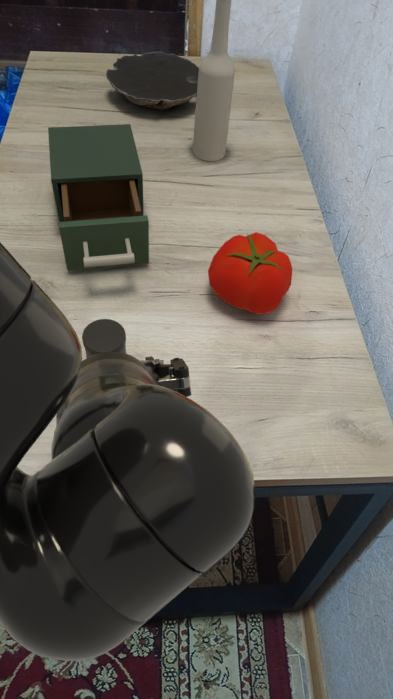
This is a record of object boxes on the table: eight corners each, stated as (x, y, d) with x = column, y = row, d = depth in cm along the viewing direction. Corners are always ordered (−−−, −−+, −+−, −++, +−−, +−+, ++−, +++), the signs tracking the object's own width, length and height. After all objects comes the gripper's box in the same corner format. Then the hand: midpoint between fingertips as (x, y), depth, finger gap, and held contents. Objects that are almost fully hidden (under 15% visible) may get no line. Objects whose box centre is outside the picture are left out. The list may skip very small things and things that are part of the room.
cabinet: (143, 226, 83) (142, 173, 75) (61, 233, 81) (51, 179, 72) (132, 176, 91) (130, 123, 83) (57, 180, 89) (48, 127, 81)
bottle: (192, 160, 96) (204, -9, 74) (192, 142, 100) (203, -24, 78) (226, 162, 96) (248, -6, 74) (224, 143, 100) (244, -21, 78)
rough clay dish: (222, 94, 113) (225, 71, 109) (169, 133, 101) (169, 108, 97) (144, 65, 119) (144, 42, 115) (85, 99, 107) (83, 74, 103)
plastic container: (91, 396, 62) (83, 354, 55) (88, 365, 65) (80, 321, 58) (131, 391, 63) (128, 349, 56) (126, 360, 66) (122, 316, 59)
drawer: (153, 285, 74) (153, 242, 67) (69, 293, 71) (60, 250, 65) (137, 209, 84) (135, 166, 78) (63, 215, 82) (55, 170, 75)
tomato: (195, 271, 77) (199, 228, 71) (269, 260, 80) (279, 218, 73) (219, 332, 70) (227, 291, 63) (299, 318, 73) (314, 277, 66)
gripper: (204, 347, 36) (172, 327, 52) (0, 372, 33) (32, 344, 49) (213, 445, 37) (179, 396, 53) (17, 476, 35) (43, 416, 50)
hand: (108, 371), depth 51 cm, fingers open, 8 cm apart
